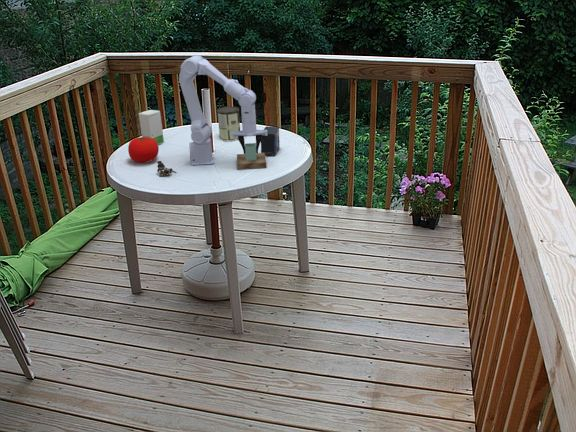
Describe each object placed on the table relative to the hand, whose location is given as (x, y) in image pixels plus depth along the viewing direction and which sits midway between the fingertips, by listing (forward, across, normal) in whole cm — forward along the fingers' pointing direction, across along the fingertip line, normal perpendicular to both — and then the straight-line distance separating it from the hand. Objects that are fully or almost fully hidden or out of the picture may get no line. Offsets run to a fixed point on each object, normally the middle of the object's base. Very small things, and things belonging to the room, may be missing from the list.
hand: (250, 152), depth 238 cm
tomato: (+5, -46, +12) cm, 48 cm away
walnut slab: (+5, 0, 0) cm, 5 cm away
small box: (+5, +9, +13) cm, 17 cm away
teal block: (+2, 0, -1) cm, 2 cm away
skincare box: (+5, -45, +34) cm, 57 cm away
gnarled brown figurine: (+6, -35, -6) cm, 36 cm away
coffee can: (+5, -9, +37) cm, 38 cm away
